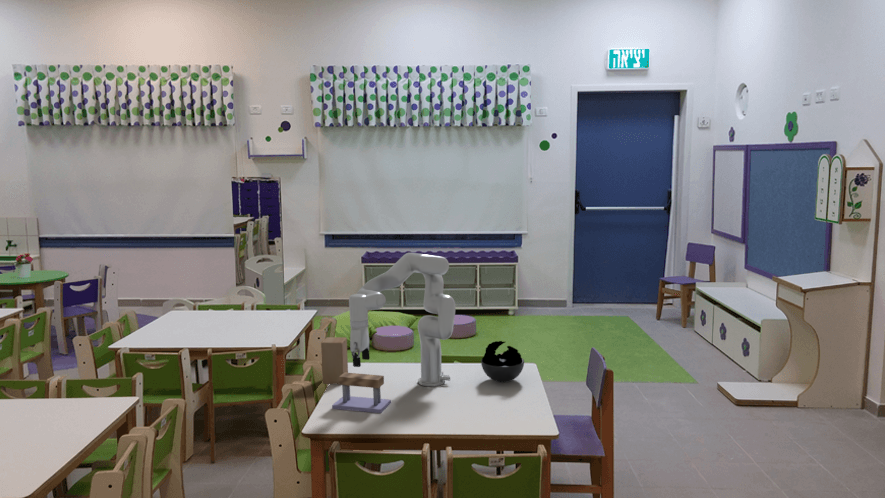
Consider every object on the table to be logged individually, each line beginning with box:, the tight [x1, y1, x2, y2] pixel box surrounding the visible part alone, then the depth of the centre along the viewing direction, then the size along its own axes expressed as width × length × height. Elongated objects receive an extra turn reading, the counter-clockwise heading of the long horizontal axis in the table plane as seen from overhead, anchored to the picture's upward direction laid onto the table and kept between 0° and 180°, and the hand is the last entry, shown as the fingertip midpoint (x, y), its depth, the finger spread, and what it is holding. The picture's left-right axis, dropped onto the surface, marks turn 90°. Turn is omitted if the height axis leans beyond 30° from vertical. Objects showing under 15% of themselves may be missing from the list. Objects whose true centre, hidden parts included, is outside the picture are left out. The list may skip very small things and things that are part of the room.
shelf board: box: [338, 372, 385, 389], centre depth 293 cm, size 18×6×4 cm, turn 72°
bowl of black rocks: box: [480, 340, 525, 383], centre depth 322 cm, size 20×20×19 cm
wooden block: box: [320, 336, 349, 385], centre depth 327 cm, size 10×10×20 cm
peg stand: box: [331, 385, 392, 414], centre depth 294 cm, size 22×12×10 cm, turn 74°
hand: (361, 362), depth 292 cm, fingers open, 9 cm apart
